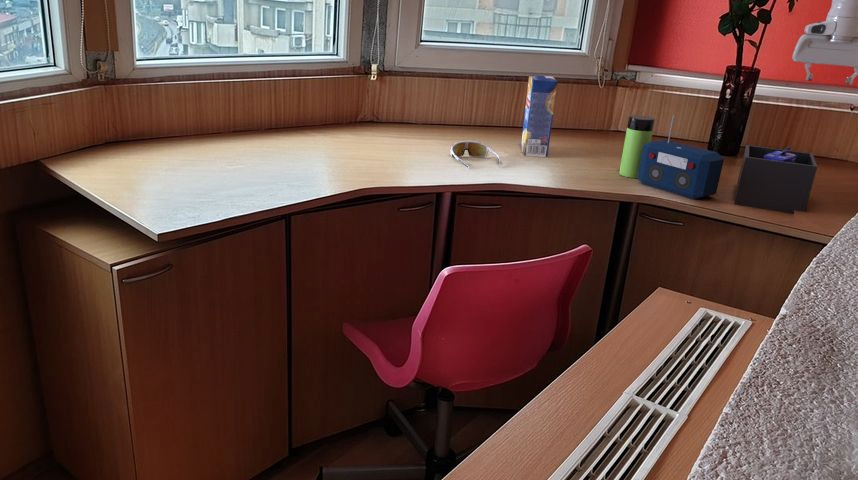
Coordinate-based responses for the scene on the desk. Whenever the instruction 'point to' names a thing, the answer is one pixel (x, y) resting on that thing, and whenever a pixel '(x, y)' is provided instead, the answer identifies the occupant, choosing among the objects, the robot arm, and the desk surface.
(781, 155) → the ink cartridge box
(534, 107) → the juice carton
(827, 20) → the robot arm
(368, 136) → the desk surface
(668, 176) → the radio
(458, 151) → the sunglasses
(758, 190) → the dark grey storage bin
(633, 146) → the tumbler
